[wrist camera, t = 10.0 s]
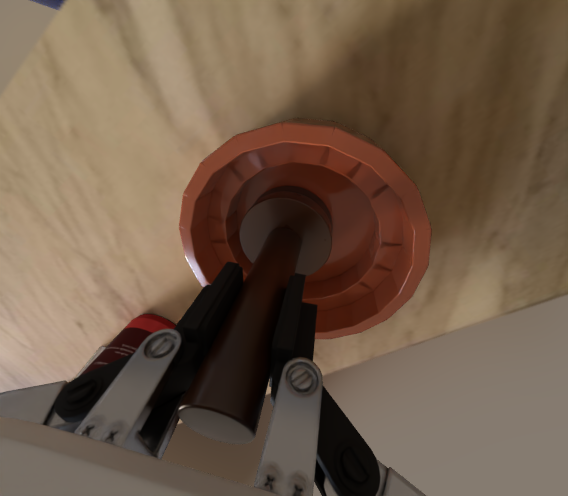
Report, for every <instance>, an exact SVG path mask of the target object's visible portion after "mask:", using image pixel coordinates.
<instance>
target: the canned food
mask: <svg viewBox="0 0 568 496" xmlns="http://www.w3.org/2000/svg"><path fill="white" fill-rule="evenodd" d="M175 327H176V325H175V324H173V323H172V322H170V321H169V320H167V319H165V318H163V317H160V316H157V315H152V314H143V315H140V316H138V317H137V318H135V319H133V320H132V321H131V322H130V323H129V324H128V325H127V326H126V327H125V328H124V329H123V330H122V331H121V332H120V333H119V334H118V336H117V337H116V338H115V339H114V340H113V341H112V342H111V343H110V344H109V345H108V346H107V347H106V348H105V349H104V350H103V351H102V352H101V353H100V354H99V355H98V357H97V358H96V359H95V360H94V361H93V362H92V363H91V364H90V365H89V366H88V367H87V368H86V369H85V370H84V371H83V372H82V373H81V374H80V375H79V376H81V375H83V374H85V373H87V372H89V371H92V370H94V369H96V368H99V367H101V366H104V365H106V364H108V363H111V362H113V361H115V360H118V359H120V358H122V357H125V356H127V355H129V354H132V353H134V352H136V350H137V349H138V348H139V346H140V345H141V344H142V342H143V341H144V340H145V339H146V338H147V337H148V336H149V335H151V334H152V333H154V332H156V331H158V330H162V329H174V328H175ZM79 376H78V377H79Z"/></svg>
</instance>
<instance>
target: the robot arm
mask: <svg viewBox="0 0 568 496" xmlns="http://www.w3.org/2000/svg"><path fill="white" fill-rule="evenodd" d="M305 278H306V275H304V274H299V273H295V275H294V276H293V275H290V277H289V281H288V285H287V289H286V292H285V296H284V300H283V304H282V307H281V311H280V315H279V319H278V322H277V326H276V330H275V334H274V337H273V342H272V348H271V365H270V366H271V374H270V384H269V387H271V403H272V405H273V411H272V415H271V419H270V423H269V427H268V431H267V435H266V439H265V443H264V447H263V451H262V456H261V459H260V463H259V467H258V471H257V476H256V480H255V483H254V487H251V486H248V485H245V484H242V483H239V482H235V481H232V480H229V479H225V478H222V477H219V476H215V475H212V474H209V473H206V472H202V471H199V470H196V469H192V468H189V467H186V466H182V465H179V464H175V463H172V462H169V461H165V460H162V459H161V458H162V456H163V454H164V452H165V450H166V448H167V445H168V443H169V441H170V439H171V437H172V434H173V432H174V430H175V428H176V426H177V423H178V421H179V419H180V418H179V416H178V408H179V406H180V404H181V402H182V400H183V398H184V396H185V394H186V392H187V391H188V389H189V387H190V385H191V383H192V381H193V379H194V377H195V375H196V373H197V371H198V369H199V367H200V365H201V364H202V362H203V360H204V358H205V356H206V354H207V352H208V350H209V348H210V346H211V344H212V342H213V340H214V338H215V337H216V335H217V333H218V331H219V329H220V327H221V325H222V323H223V321H224V319H225V317H226V315H227V313H228V311H229V310H230V308H231V306H232V304H233V302H234V300H235V298H236V296H237V294H238V292H239V290H240V288H241V286H242V284H243V268H242V267H240V265H239V263H234V262H227V263H226V264H225V265H224V267H223V268H222V270H221V271H220V272H219V274H218V275H217V277H216V278H215V280H214V281H213V283H212V284H211V285H206V286H205V287H204V288H203V289H202V291H201V292H200V294H199V295H198V296H197V298H196V299H195V300H194V302H193V303H192V305H191V306H190V307H189V309H188V310H187V311H186V313H185V314H184V316H183V317H182V318H181V320H180V321H179V322H178V324H177V325H176V327H175V328H174V329H162V330H158V331H156V332H154V333H152V334H151V335H149V336H148V337H147V338H146V339H145V340H144V341H143V342H142V344H141V345H140V346H139V348H138V349H137V350H136V352H134V353H132V354H129V355H127V356H125V357H122V358H120V359H118V360H115V361H113V362H111V363H108V364H106V365H104V366H101V367H99V368H96V369H94V370H92V371H89V372H87V373H85V374H83V375H81V376H79V377H77V378H75V379H74V380H73V381H71V382H70V383H68V382H67V381H60V382H55V383H50V384H44V385H39V386H33V387H28V388H23V389H17V390H12V391H7V392H3V393H0V496H313V487H314V482H315V484H316V486H317V487H318V489H319V491H320V493H321V495H322V496H426V495H425V494H423V493H422V492H421V491H420V490H419V489H417V488H416V487H415V486H413V485H412V484H411V483H410V482H409V481H407V480H406V479H405V478H404V477H402V476H401V475H400V474H398V473H397V472H396V471H395V470H393V469H392V468H391V467H389V468H387V467H386V466H384V465H383V464H382V463H380V461H378V460H377V459H376V457H375V456H374V454H373V452H372V450H371V449H370V447H369V446H368V445H367V443H366V442H365V441H364V439H363V438H362V437H361V435H360V434H359V433H358V431H357V430H356V429H355V427H354V426H353V425H352V423H351V422H350V421H349V419H348V418H347V417H346V415H345V414H344V413H343V411H342V410H341V409H340V408H339V406H338V405H337V404H336V402H335V401H334V400H333V398H332V397H331V396H330V395H329V393H328V392H327V390H326V389H325V388H324V386H323V377H322V373H321V371H320V369H319V367H318V366H317V365H316V364H315V363H314V362H313V352H314V341H315V330H316V318H317V305H316V304H310V303H305V302H302V298H303V292H304V285H305Z"/></svg>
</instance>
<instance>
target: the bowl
mask: <svg viewBox="0 0 568 496" xmlns="http://www.w3.org/2000/svg"><path fill="white" fill-rule="evenodd" d="M280 186H296V187H301V188H304V189H306V190H308V191H311V192H312V193H314V194H315V195H317V196H318V197H319V198H320V199H321V200H322V201H323V202H324V204H325V205H326V206H327V208H328V210H329V212H330V215H331V218H332V227H333V229H332V249H331V253H330V256H329V258H328V260H327V261H326V263H325V264H324V265H323V266H322V267H321V268H320V269H319V270H318V271H316V272H315V273H313V274H311V275H309V276H306V278H305V285H304V292H303V298H302V302H305V303H310V304H316V305H317V318H316V330H315V339H333V338H338V337H343V336H347V335H352V334H357V333H361V332H363V331H365V330H367V329H369V328H371V327H373V326H375V325H377V324H379V323H381V322H383V321H385V320H387V319H388V318H390V317H391V316H392V315H393V314H394V313H395V312H396V311H397V310H398V309H399V308H401V307H402V306H403V305H404V304H405V303H406V302H407V301H408V300H409V299H410V298H411V297H412V296H413V294H414V292H415V290H416V289H417V287H418V285H419V283H420V281H421V279H422V277H423V275H424V273H425V271H426V270H427V268H428V265H429V254H430V243H431V231H432V229H431V224H430V222H429V219H428V216H427V213H426V210H425V207H424V204H423V201H422V199H421V196H420V193H419V190H418V188H417V186H416V185H415V183H414V182H413V181H412V180H411V179H410V178H409V177H408V176H407V175H406V174H405V173H404V171H403V170H402V169H401V168H400V167H399V166H398V165H397V164H396V163H395V162H394V161H393V159H392V158H391V157H390V156H389V155H388V154H387V153H386V152H385V151H384V150H383V149H382V148H381V147H380V146H379V145H377V144H376V143H375V142H374V141H373V140H372V139H370V138H369V137H367V136H365V135H363V134H361V133H359V132H356V131H354V130H352V129H350V128H348V127H346V126H344V125H342V124H340V123H338V122H335V121H328V120H316V119H305V118H293V119H290V120H286V121H283V122H279V123H276V124H272V125H269V126H265V127H262V128H258V129H255V130H251V131H248V132H244V133H241V134H237V135H235V136H233V137H232V138H231V139H229V140H228V141H227V142H226V143H224V144H223V145H222V146H220V147H219V148H218V149H217V150H215V151H214V152H213V153H211V154H210V155H209V156H208V157H206V158H205V159H204V160H203V161H202V162H201V163H200V164H199V166H198V168H197V170H196V172H195V173H194V175H193V177H192V179H191V180H190V182H189V184H188V186H187V188H186V189H185V191H184V193H183V199H182V207H181V215H180V222H179V230H180V235H181V239H182V244H183V249H184V254H185V257H186V259H187V261H188V263H189V265H190V267H191V268H192V270H193V272H194V274H195V276H196V278H197V279H198V281H199V283H200V285H201V286H202V287H203V288H204V287H205V286H206V285H211V284H212V283H213V281H214V280H215V278H216V277H217V275H218V274H219V272H220V271H221V270H222V268H223V267H224V265H225V264H226V263H227V262H234V263H239V265H240V267H242V268H243V283H244V281H245V279H246V277H247V275H248V273H249V271H250V269H251V267H252V265H253V263H252V262H251V261H250V260H249V259H248V257H247V256H246V254H245V253H244V251H243V249H242V246H241V242H240V236H239V233H240V225H241V222H242V219H243V217H244V215H245V214H246V213H247V211H248V210H249V209H250V208H251V207H252V205H253V204H254V203H255V202H256V200H257V199H258V198H259V197H260V196H261V195H262V194H264V193H265V192H267V191H268V190H270V189H273V188H275V187H280Z"/></svg>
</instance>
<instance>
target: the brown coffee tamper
mask: <svg viewBox="0 0 568 496" xmlns="http://www.w3.org/2000/svg"><path fill="white" fill-rule="evenodd" d="M332 229H333V227H332V218H331V215H330V212H329V210H328V208H327V206H326V205H325V204H324V202H323V201H322V200H321V199H320V198H319V197H318V196H317V195H315V194H314V193H312V192H311V191H308V190H306V189H304V188H301V187H296V186H280V187H275V188H273V189H270V190H268V191H267V192H265V193H264V194H262V195H261V196H260V197H259V198H258V199H257V200H256V202H255V203H254V204H253V205H252V207H251V208H250V209H249V210H248V211H247V213H246V214H245V215H244V217H243V219H242V222H241V225H240V233H239V236H240V242H241V246H242V249H243V251H244V253H245V254H246V256H247V257H248V259H249V260H250V261H251V262H252V263H253V265H252V267H251V269H250V271H249V273H248V275H247V277H246V279H245V281H244V283H243V284H242V286H241V288H240V290H239V292H238V294H237V296H236V298H235V300H234V302H233V304H232V306H231V308H230V310H229V311H228V313H227V315H226V317H225V319H224V321H223V323H222V325H221V327H220V329H219V331H218V333H217V335H216V337H215V338H214V340H213V342H212V344H211V346H210V348H209V350H208V352H207V354H206V356H205V358H204V360H203V362H202V364H201V365H200V367H199V369H198V371H197V373H196V375H195V377H194V379H193V381H192V383H191V385H190V387H189V389H188V391H187V392H186V394H185V396H184V398H183V400H182V402H181V404H180V406H179V408H178V416H179V418H180V419H181V420H182V422H183V423H184V424H186V425H187V426H188V427H190V428H191V429H192V430H194V431H196V432H197V433H199V434H201V435H204V436H206V437H208V438H211V439H214V440H217V441H220V442H225V443H230V444H245V443H249V442H251V441H252V440H253V439H254V438H255V435H256V431H257V427H258V423H259V419H260V415H261V410H262V406H263V402H264V398H265V394H266V390H267V386H268V382H269V378H270V374H271V366H270V365H271V348H272V342H273V337H274V334H275V330H276V326H277V322H278V319H279V315H280V311H281V307H282V304H283V300H284V296H285V292H286V289H287V285H288V281H289V277H290V275H293V276H294V275H295V273H299V274H304V275H306V276H309V275H311V274H313V273H315V272H316V271H318V270H319V269H320V268H321V267H322V266H323V265H324V264H325V263H326V261H327V260H328V258H329V256H330V253H331V249H332Z"/></svg>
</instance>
